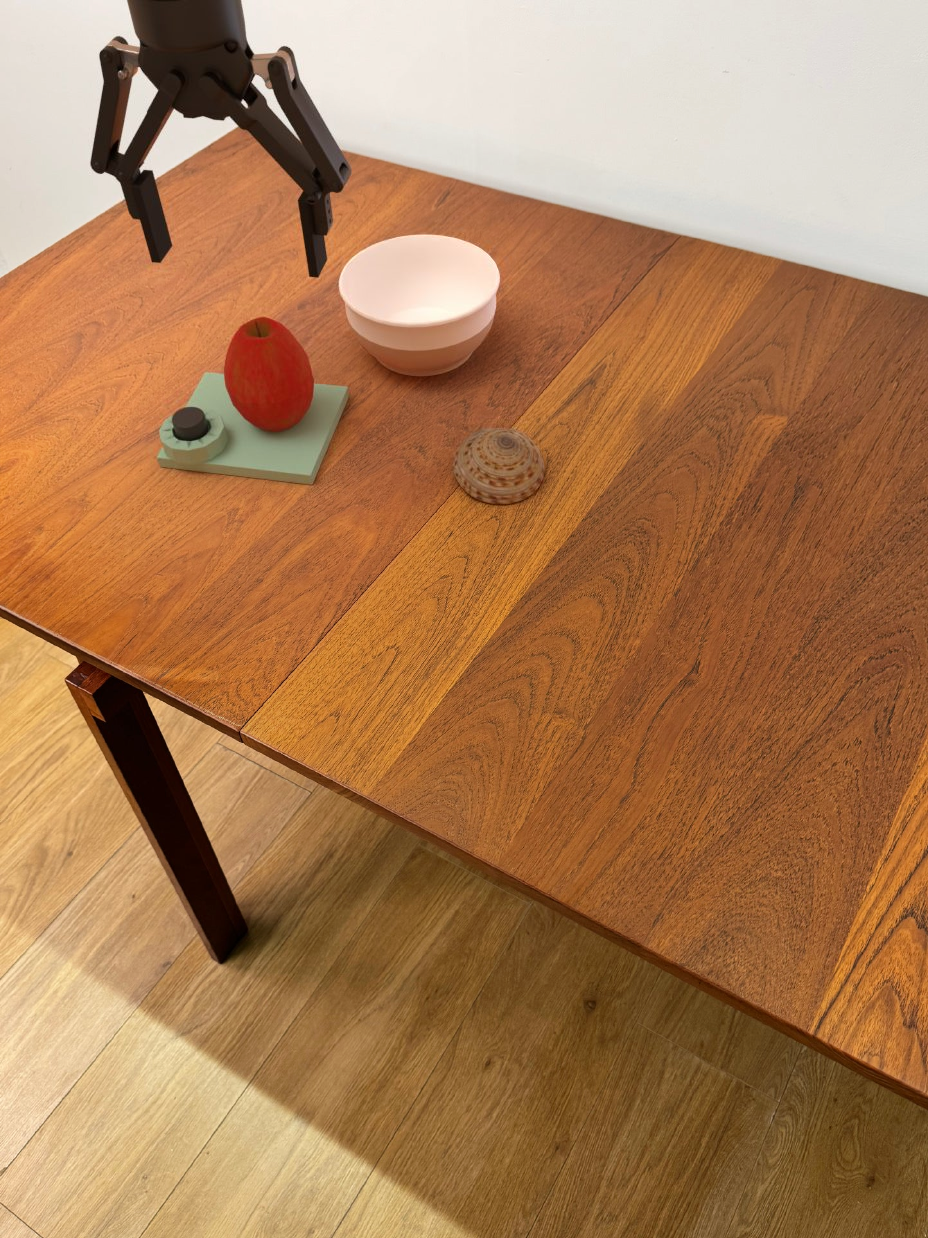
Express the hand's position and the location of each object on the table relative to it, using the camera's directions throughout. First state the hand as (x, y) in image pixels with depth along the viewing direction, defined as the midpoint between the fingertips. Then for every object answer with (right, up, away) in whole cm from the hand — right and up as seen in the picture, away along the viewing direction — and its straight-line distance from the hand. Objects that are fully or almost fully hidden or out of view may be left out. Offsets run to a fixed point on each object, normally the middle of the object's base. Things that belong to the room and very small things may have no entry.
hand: (239, 261), depth 83 cm
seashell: (+22, -16, +10) cm, 29 cm away
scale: (-1, -11, +14) cm, 18 cm away
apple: (+1, -10, +14) cm, 17 cm away
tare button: (-7, -12, +10) cm, 17 cm away
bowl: (+14, -1, +22) cm, 26 cm away
